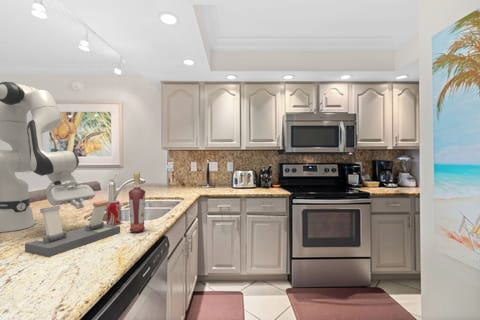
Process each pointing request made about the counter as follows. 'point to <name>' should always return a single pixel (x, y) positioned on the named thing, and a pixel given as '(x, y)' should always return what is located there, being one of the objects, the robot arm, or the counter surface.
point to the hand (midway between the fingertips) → (80, 207)
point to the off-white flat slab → (98, 214)
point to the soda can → (113, 213)
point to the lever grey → (52, 222)
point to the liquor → (137, 206)
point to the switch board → (70, 240)
